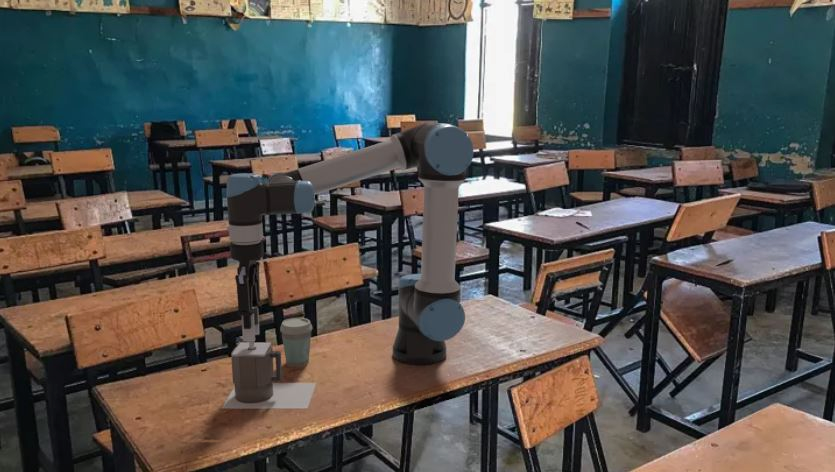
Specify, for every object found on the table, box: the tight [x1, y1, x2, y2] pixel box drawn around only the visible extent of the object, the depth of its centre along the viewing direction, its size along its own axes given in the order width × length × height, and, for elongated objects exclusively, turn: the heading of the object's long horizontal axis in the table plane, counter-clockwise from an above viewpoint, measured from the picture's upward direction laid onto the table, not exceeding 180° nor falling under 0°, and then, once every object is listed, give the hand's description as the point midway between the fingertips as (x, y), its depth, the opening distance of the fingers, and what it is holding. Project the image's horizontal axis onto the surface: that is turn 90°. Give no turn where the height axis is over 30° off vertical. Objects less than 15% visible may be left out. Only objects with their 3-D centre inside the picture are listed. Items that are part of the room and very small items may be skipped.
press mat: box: [221, 382, 317, 410], centre depth 165 cm, size 20×14×1 cm
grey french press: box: [230, 341, 283, 403], centre depth 164 cm, size 11×9×12 cm
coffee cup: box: [279, 317, 313, 368], centre depth 183 cm, size 8×8×12 cm
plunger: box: [248, 305, 259, 357], centre depth 162 cm, size 4×4×16 cm
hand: (251, 337), depth 162 cm, fingers closed on plunger, 4 cm apart
